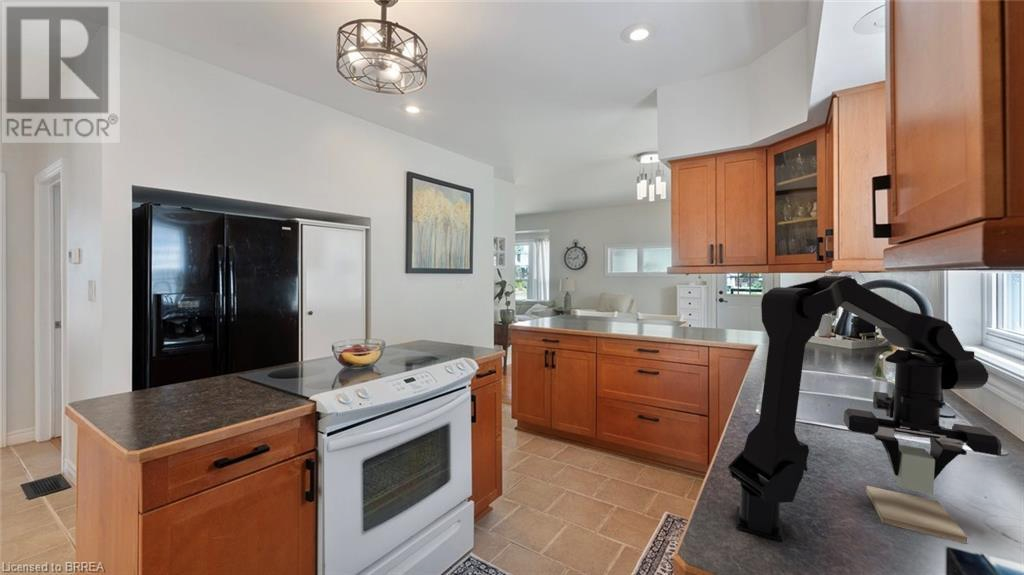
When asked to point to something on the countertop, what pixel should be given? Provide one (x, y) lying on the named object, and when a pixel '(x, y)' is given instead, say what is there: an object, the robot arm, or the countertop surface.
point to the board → (915, 514)
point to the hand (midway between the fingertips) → (912, 477)
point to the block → (915, 470)
